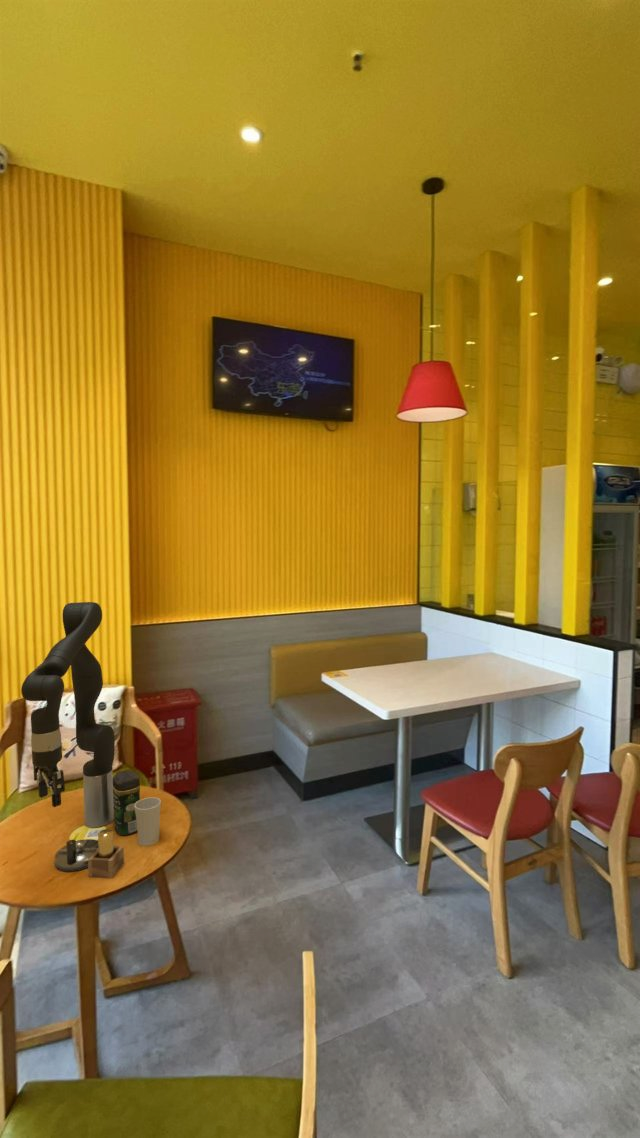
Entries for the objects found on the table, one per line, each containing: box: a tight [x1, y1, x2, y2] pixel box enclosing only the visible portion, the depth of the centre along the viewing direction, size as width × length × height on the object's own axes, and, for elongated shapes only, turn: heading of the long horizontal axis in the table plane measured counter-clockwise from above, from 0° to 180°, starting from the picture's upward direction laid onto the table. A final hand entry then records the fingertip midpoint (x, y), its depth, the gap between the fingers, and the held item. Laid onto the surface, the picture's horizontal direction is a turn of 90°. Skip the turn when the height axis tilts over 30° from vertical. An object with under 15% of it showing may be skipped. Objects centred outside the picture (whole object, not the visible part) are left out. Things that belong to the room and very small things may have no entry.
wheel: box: [54, 838, 98, 872], centre depth 159 cm, size 13×13×8 cm
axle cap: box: [76, 839, 85, 852], centre depth 159 cm, size 3×3×2 cm
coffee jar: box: [113, 769, 141, 836], centre depth 175 cm, size 10×8×19 cm
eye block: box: [87, 845, 125, 879], centre depth 153 cm, size 7×7×5 cm
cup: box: [134, 796, 162, 847], centre depth 168 cm, size 8×8×12 cm
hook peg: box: [97, 828, 114, 859], centre depth 153 cm, size 4×4×11 cm
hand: (50, 800), depth 151 cm, fingers open, 8 cm apart
